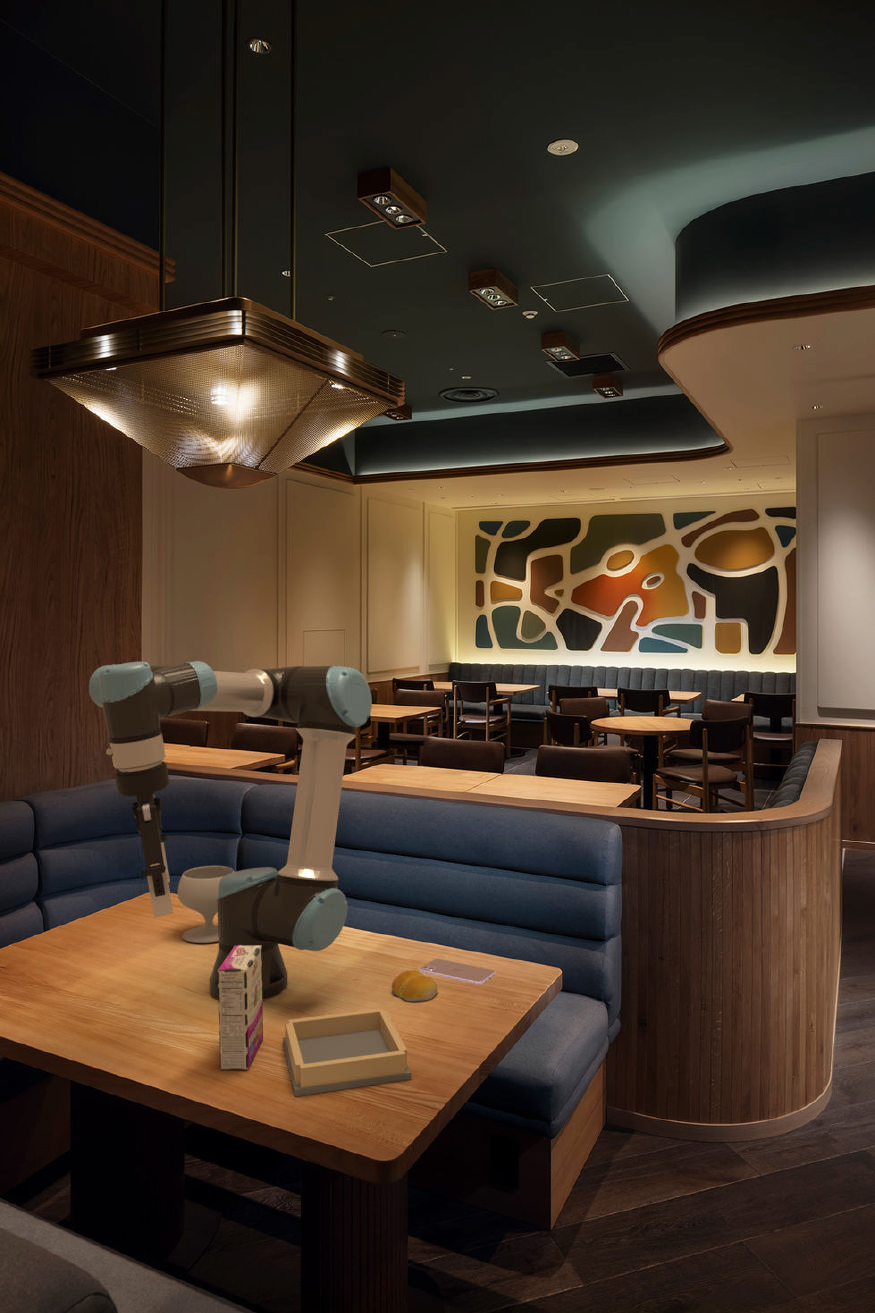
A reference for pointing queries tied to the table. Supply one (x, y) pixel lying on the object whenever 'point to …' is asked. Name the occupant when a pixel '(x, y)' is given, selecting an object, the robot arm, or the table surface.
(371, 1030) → the shallow square tray
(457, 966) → the mobile phone
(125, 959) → the table surface
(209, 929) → the chalice
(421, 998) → the bread roll
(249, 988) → the candy bar box
